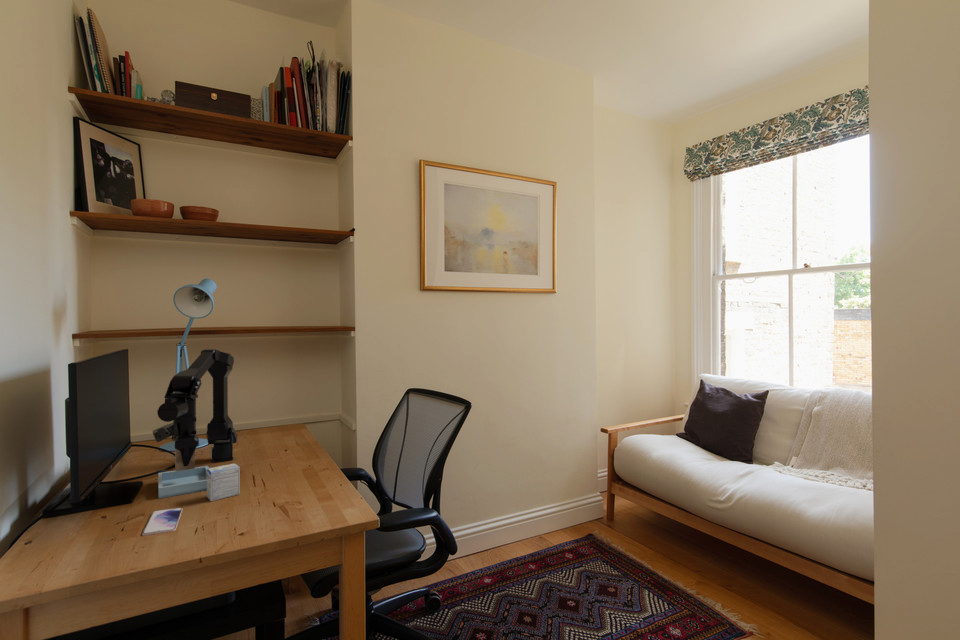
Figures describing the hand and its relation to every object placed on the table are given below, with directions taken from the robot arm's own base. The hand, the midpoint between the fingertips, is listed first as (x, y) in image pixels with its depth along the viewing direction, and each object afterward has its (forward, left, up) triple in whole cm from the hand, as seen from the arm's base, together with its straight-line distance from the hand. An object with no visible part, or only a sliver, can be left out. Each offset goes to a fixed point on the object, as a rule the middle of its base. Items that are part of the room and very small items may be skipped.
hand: (185, 463), depth 150 cm
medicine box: (-9, +16, -7) cm, 20 cm away
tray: (0, 0, -7) cm, 7 cm away
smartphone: (+6, +27, -8) cm, 29 cm away
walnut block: (0, 0, -1) cm, 1 cm away
